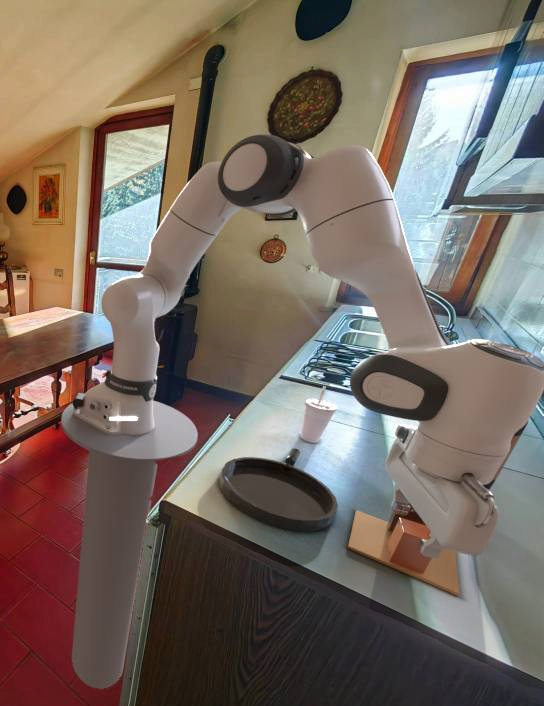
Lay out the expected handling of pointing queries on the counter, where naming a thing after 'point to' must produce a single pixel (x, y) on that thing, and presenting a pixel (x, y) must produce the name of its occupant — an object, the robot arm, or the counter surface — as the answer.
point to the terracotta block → (408, 545)
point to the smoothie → (316, 418)
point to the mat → (372, 541)
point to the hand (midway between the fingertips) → (411, 531)
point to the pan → (278, 494)
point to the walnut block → (410, 516)
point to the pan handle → (291, 458)
